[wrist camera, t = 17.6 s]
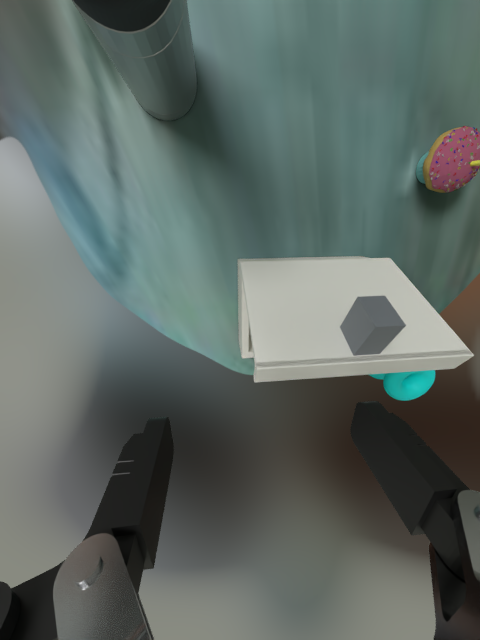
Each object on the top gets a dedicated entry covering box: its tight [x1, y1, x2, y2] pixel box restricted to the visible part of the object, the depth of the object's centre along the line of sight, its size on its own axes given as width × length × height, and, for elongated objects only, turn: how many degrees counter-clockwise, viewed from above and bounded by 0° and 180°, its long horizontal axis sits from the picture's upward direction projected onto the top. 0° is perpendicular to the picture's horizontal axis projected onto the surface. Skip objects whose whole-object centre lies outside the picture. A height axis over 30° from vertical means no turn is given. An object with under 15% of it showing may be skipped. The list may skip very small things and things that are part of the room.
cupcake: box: [416, 126, 480, 193], centre depth 34 cm, size 9×8×12 cm
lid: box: [240, 258, 474, 382], centre depth 30 cm, size 18×24×8 cm
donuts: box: [369, 370, 435, 401], centre depth 50 cm, size 10×10×10 cm
